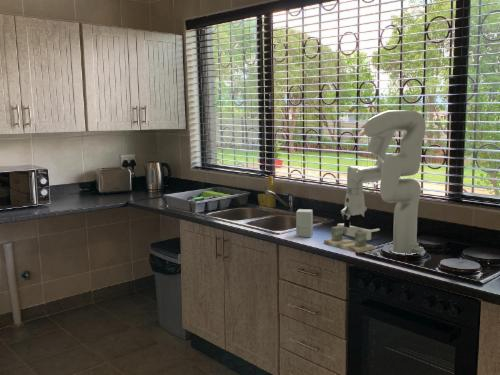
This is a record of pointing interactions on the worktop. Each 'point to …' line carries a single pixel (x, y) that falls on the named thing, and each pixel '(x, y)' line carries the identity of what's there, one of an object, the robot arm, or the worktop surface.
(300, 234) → the supplement box
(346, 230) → the glasses
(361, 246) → the display stand
